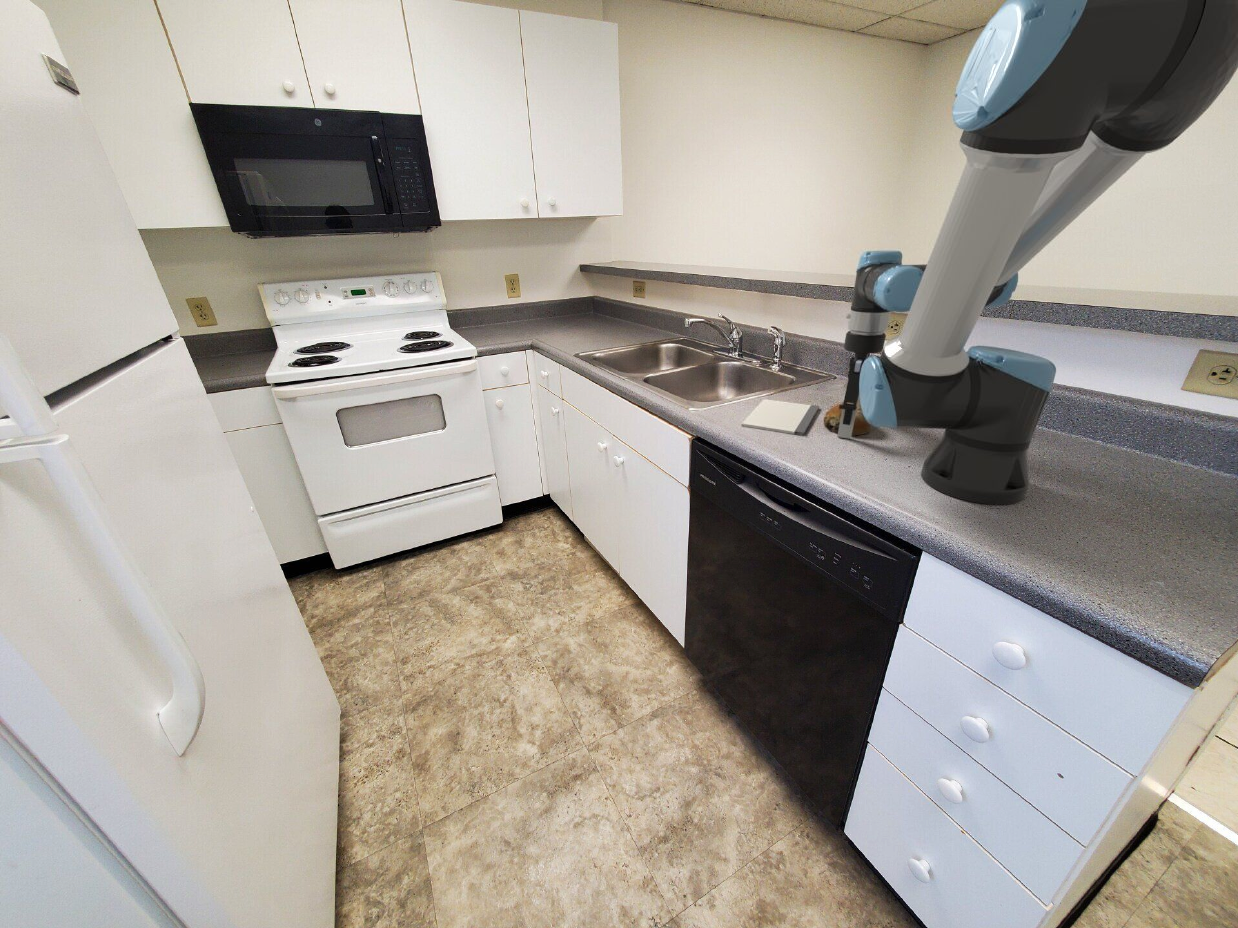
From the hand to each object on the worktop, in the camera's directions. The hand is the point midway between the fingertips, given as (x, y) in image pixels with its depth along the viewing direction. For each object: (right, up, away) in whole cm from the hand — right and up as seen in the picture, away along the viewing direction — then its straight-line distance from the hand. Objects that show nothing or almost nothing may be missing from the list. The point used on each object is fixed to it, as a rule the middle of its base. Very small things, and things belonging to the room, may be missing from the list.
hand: (847, 427), depth 109 cm
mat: (-13, +3, +8) cm, 15 cm away
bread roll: (0, -1, 0) cm, 1 cm away
